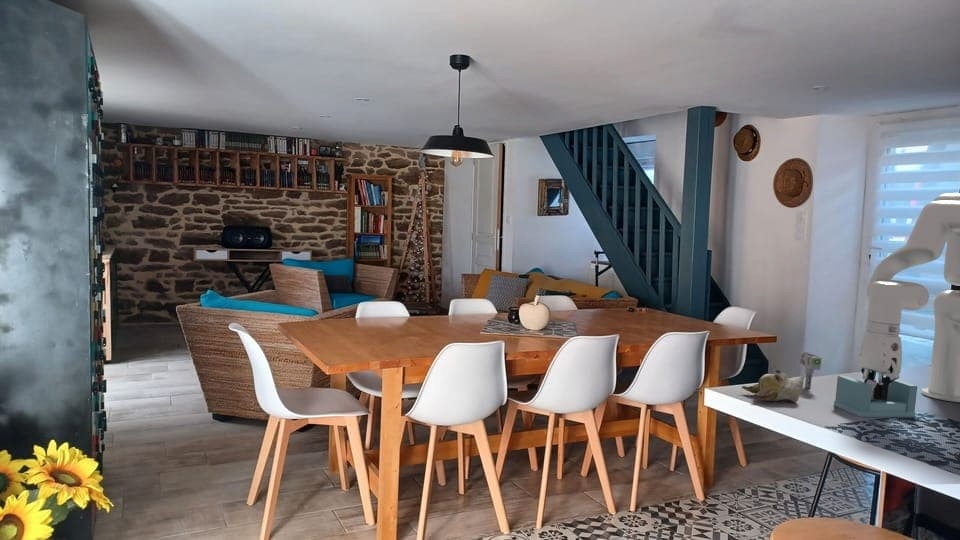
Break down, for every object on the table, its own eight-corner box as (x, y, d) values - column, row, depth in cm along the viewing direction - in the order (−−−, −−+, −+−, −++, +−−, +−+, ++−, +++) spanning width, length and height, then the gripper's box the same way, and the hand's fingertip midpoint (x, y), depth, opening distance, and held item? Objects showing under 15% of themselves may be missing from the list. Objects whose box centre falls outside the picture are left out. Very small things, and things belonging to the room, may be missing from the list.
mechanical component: (806, 383, 205) (809, 351, 205) (819, 392, 195) (823, 358, 194) (796, 383, 206) (799, 350, 205) (809, 391, 196) (812, 358, 195)
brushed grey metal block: (865, 404, 180) (877, 385, 180) (874, 408, 176) (887, 389, 176) (855, 398, 179) (868, 379, 179) (865, 401, 176) (877, 382, 176)
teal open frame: (885, 405, 185) (889, 376, 184) (914, 416, 175) (918, 386, 174) (833, 405, 182) (836, 375, 181) (860, 416, 172) (863, 385, 171)
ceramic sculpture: (812, 374, 178) (754, 374, 179) (811, 407, 179) (754, 406, 179) (795, 366, 188) (741, 365, 189) (794, 396, 189) (740, 396, 190)
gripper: (920, 335, 169) (911, 406, 171) (871, 323, 185) (864, 389, 187) (894, 334, 168) (885, 406, 169) (847, 322, 184) (840, 388, 186)
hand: (874, 396), depth 178 cm, fingers closed on brushed grey metal block, 3 cm apart
